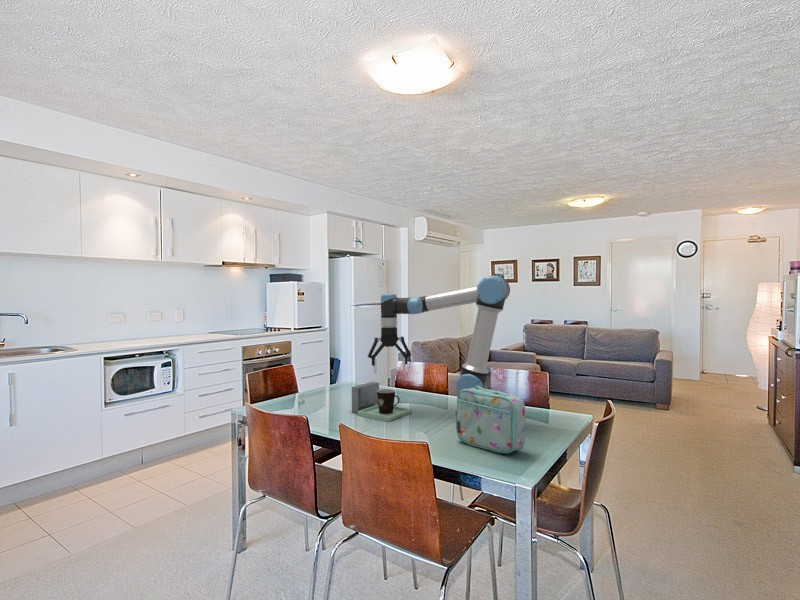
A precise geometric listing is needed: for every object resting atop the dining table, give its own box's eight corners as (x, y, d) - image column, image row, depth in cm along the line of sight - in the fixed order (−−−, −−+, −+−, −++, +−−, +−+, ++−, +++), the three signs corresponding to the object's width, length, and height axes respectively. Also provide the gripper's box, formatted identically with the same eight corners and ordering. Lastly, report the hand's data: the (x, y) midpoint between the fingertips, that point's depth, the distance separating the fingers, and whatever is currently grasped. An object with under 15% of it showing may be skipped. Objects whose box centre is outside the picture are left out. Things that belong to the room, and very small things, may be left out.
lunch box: (450, 441, 168) (450, 384, 168) (466, 435, 176) (467, 381, 175) (512, 459, 149) (512, 396, 149) (527, 452, 157) (528, 391, 156)
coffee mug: (374, 411, 209) (374, 390, 209) (390, 409, 213) (390, 388, 213) (383, 417, 199) (383, 395, 199) (401, 415, 202) (401, 393, 202)
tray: (411, 413, 208) (411, 409, 208) (388, 422, 193) (388, 417, 193) (381, 407, 218) (381, 403, 218) (357, 415, 203) (357, 411, 203)
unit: (379, 406, 220) (379, 382, 220) (358, 413, 207) (358, 388, 207) (372, 405, 223) (372, 381, 222) (351, 412, 209) (351, 386, 209)
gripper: (413, 325, 213) (413, 369, 213) (361, 326, 208) (362, 372, 208) (416, 326, 205) (417, 372, 205) (363, 327, 200) (364, 374, 201)
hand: (389, 372), depth 207 cm, fingers open, 13 cm apart
